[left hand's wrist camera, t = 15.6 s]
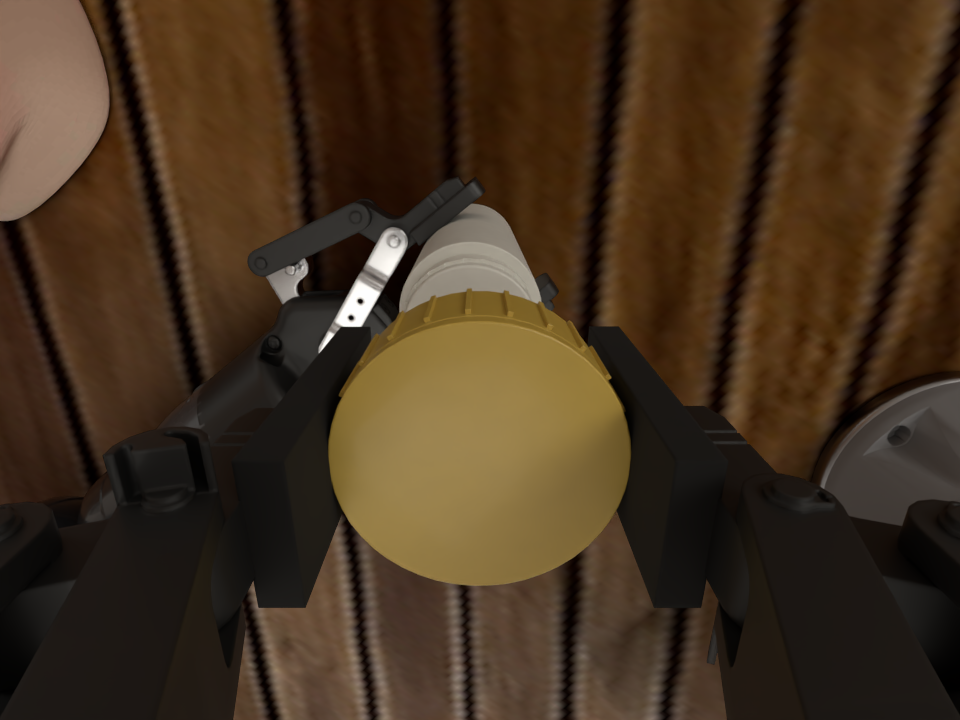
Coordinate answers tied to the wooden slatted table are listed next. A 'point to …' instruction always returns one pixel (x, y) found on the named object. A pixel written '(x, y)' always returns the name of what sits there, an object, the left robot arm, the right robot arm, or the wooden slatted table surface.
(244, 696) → the wooden slatted table surface
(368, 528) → the lid
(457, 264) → the bottle
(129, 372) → the wooden slatted table surface
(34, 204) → the anatomical model
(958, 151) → the wooden slatted table surface
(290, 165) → the wooden slatted table surface
